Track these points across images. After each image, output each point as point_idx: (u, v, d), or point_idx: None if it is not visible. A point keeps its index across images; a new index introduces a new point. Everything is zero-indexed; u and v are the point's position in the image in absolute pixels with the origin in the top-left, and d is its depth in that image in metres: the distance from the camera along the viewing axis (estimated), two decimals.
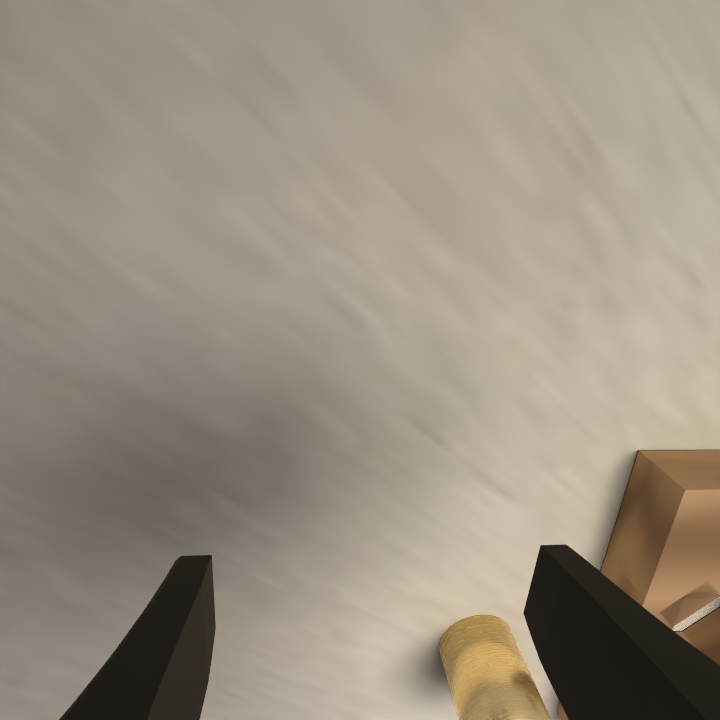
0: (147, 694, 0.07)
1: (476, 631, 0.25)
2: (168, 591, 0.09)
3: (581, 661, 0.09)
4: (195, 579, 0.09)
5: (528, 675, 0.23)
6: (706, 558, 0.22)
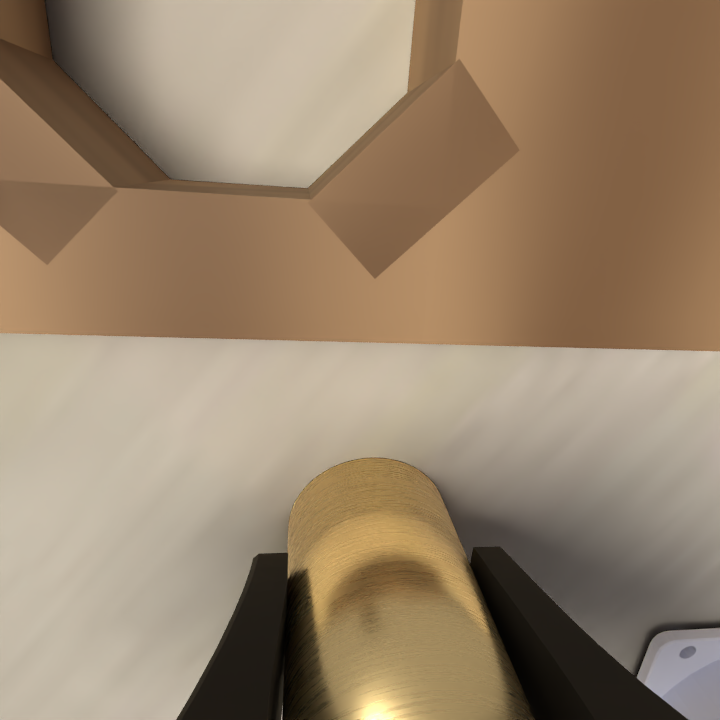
0: (261, 687, 0.07)
1: None
2: (256, 588, 0.09)
3: None
4: (279, 576, 0.09)
5: (316, 576, 0.09)
6: None
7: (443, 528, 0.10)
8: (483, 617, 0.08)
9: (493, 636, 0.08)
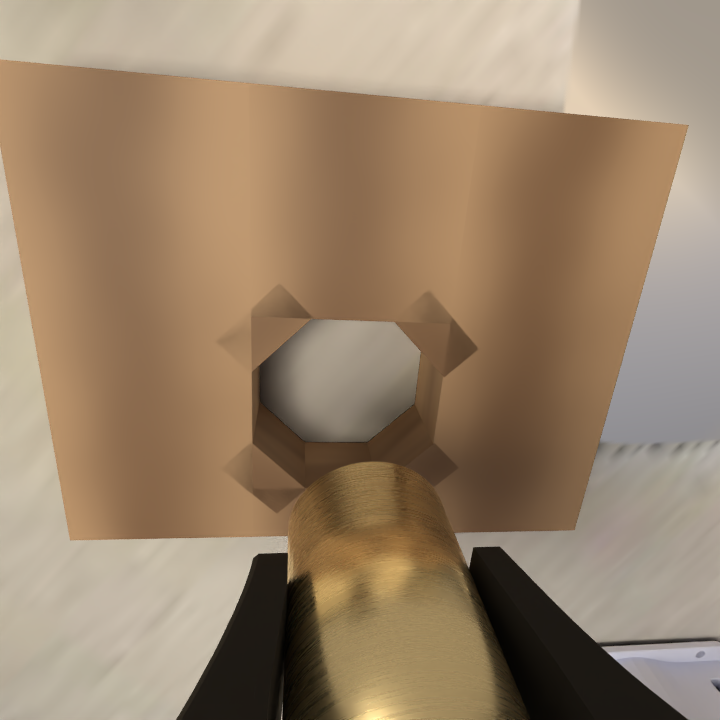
0: (261, 687, 0.07)
1: None
2: (256, 588, 0.09)
3: None
4: (279, 576, 0.09)
5: (314, 582, 0.09)
6: (180, 482, 0.16)
7: (440, 532, 0.10)
8: (479, 621, 0.08)
9: (489, 640, 0.08)
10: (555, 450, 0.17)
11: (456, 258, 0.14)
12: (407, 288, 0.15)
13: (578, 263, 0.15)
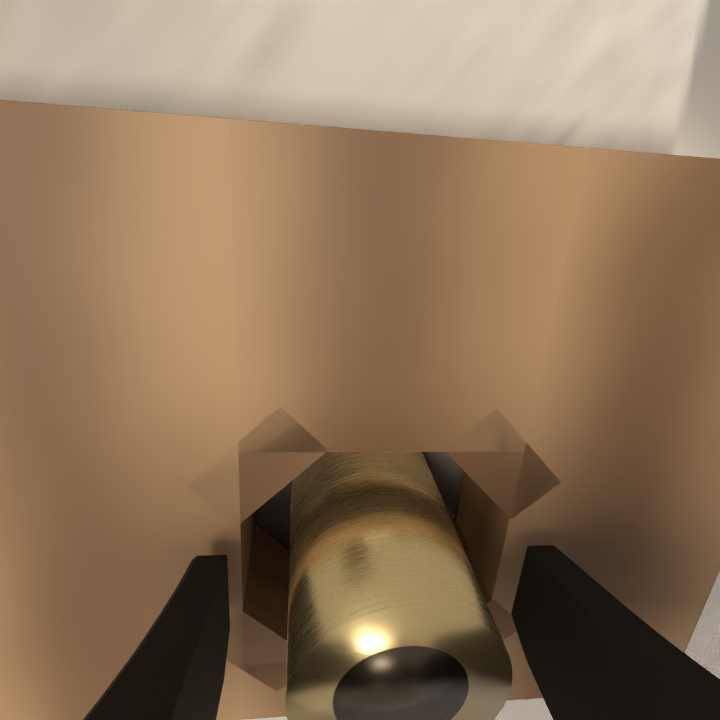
0: (171, 692, 0.07)
1: None
2: (186, 590, 0.09)
3: (566, 662, 0.09)
4: (212, 578, 0.09)
5: (314, 519, 0.11)
6: None
7: (424, 481, 0.12)
8: (454, 547, 0.10)
9: (462, 561, 0.10)
10: (654, 600, 0.13)
11: (538, 365, 0.10)
12: (465, 407, 0.10)
13: (710, 367, 0.10)
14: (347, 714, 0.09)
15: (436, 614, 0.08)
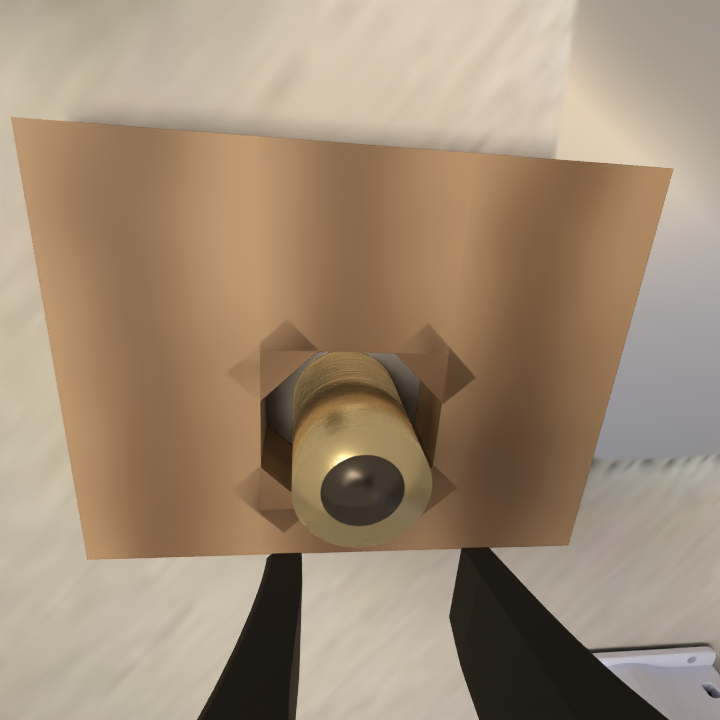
0: (281, 685, 0.07)
1: None
2: (272, 587, 0.09)
3: (490, 666, 0.09)
4: (294, 575, 0.09)
5: (309, 400, 0.16)
6: (192, 504, 0.17)
7: (385, 381, 0.17)
8: (400, 412, 0.15)
9: (404, 419, 0.15)
10: (550, 471, 0.18)
11: (454, 294, 0.15)
12: (408, 322, 0.15)
13: (570, 296, 0.16)
14: (329, 502, 0.14)
15: (382, 433, 0.13)
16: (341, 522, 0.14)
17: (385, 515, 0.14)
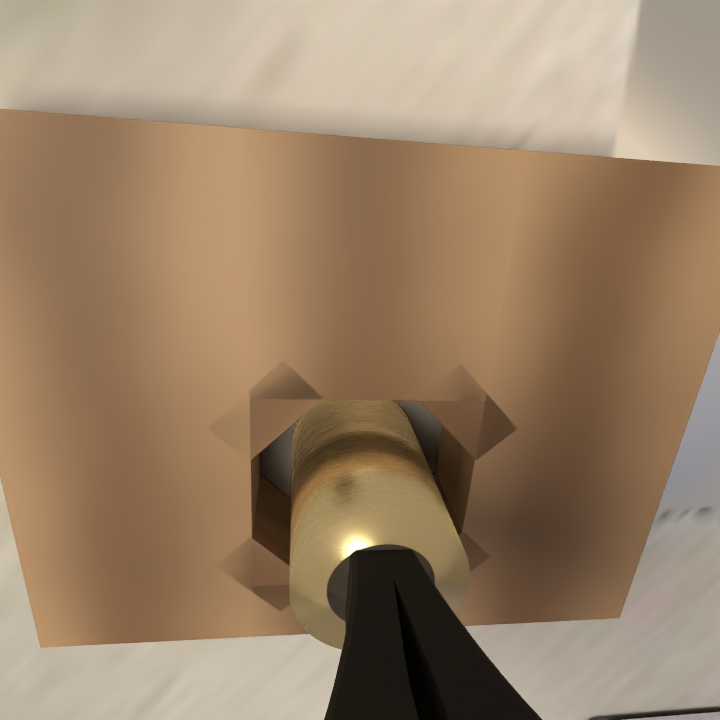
0: (400, 678, 0.07)
1: None
2: (365, 583, 0.09)
3: None
4: (384, 572, 0.09)
5: (312, 459, 0.13)
6: (167, 582, 0.14)
7: (404, 431, 0.14)
8: (426, 477, 0.12)
9: (432, 487, 0.12)
10: (602, 535, 0.15)
11: (494, 328, 0.12)
12: (435, 363, 0.12)
13: (637, 330, 0.13)
14: (338, 602, 0.11)
15: (407, 518, 0.10)
16: None
17: None
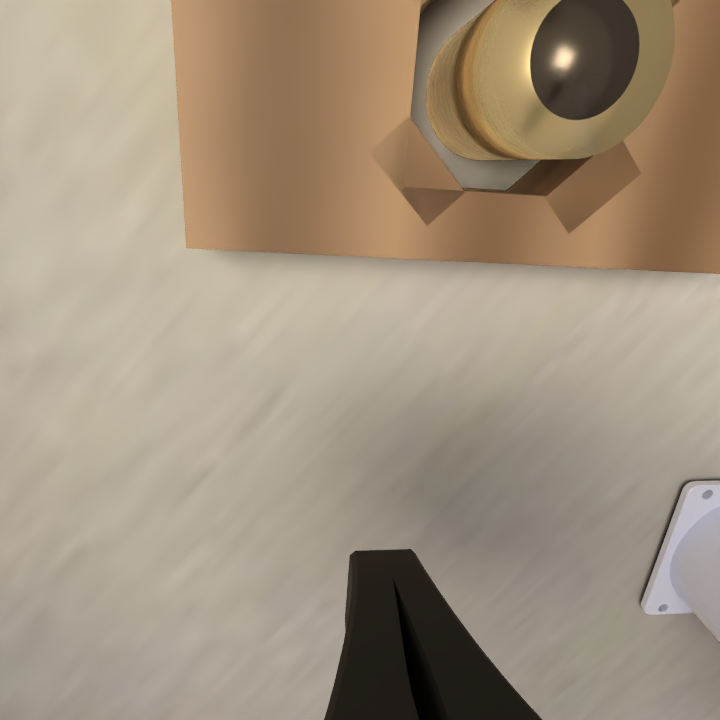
0: (400, 678, 0.07)
1: (433, 106, 0.15)
2: (366, 583, 0.09)
3: None
4: (384, 572, 0.09)
5: (479, 13, 0.13)
6: (321, 171, 0.13)
7: None
8: None
9: None
10: None
11: None
12: None
13: None
14: (540, 72, 0.10)
15: None
16: (550, 111, 0.11)
17: (606, 104, 0.11)
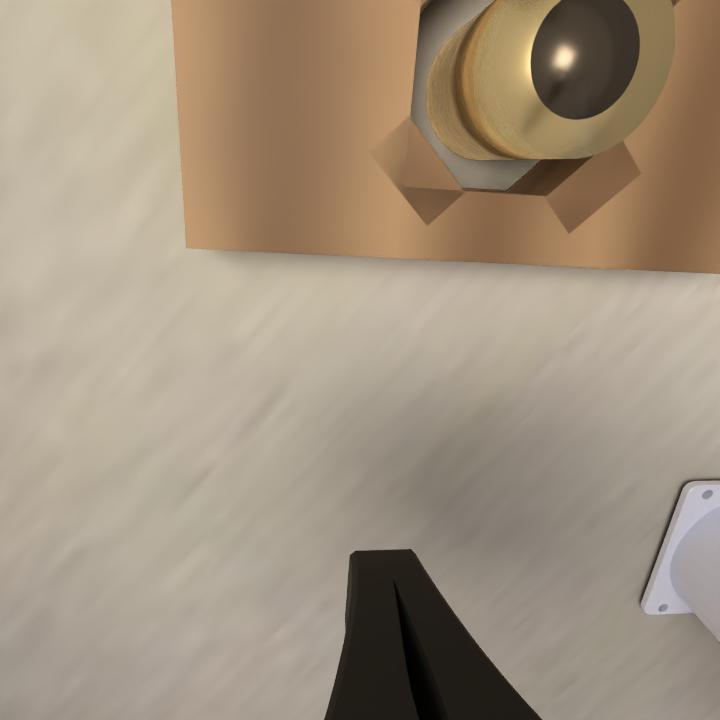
0: (400, 678, 0.07)
1: (434, 106, 0.15)
2: (366, 583, 0.09)
3: None
4: (384, 572, 0.09)
5: (479, 13, 0.13)
6: (321, 171, 0.13)
7: None
8: None
9: None
10: None
11: None
12: None
13: None
14: (540, 72, 0.10)
15: None
16: (550, 110, 0.11)
17: (607, 103, 0.11)
